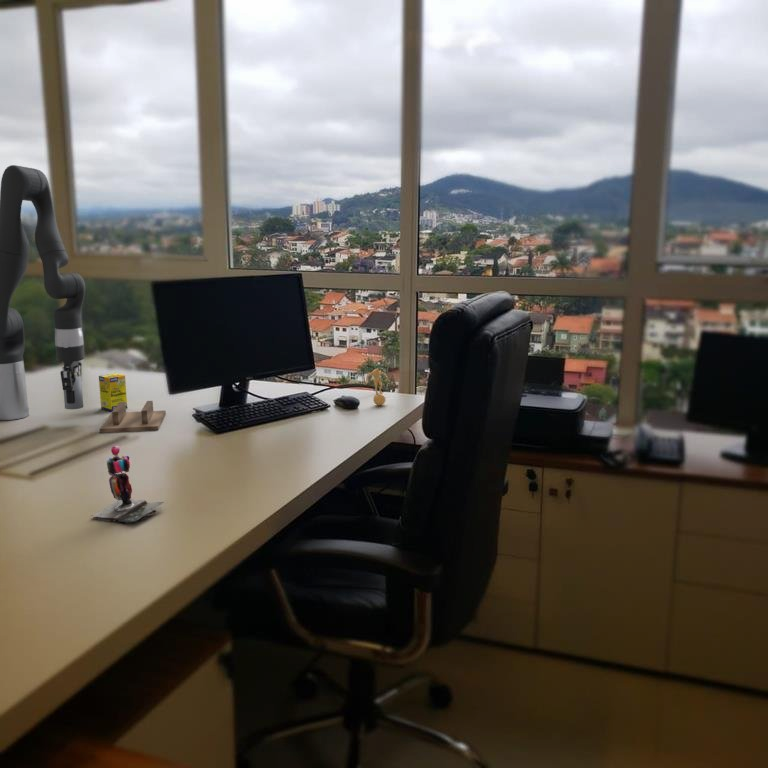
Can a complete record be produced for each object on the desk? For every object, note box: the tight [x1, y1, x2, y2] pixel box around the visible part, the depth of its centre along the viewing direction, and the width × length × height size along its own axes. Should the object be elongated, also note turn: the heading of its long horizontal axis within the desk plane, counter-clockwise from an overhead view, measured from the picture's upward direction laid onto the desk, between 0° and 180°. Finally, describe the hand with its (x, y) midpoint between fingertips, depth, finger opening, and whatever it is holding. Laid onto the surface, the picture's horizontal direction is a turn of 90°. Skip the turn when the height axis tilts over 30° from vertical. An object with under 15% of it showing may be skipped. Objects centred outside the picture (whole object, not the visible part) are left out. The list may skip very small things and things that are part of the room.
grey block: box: [63, 375, 84, 410], centre depth 214 cm, size 5×5×9 cm
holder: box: [99, 400, 167, 434], centre depth 218 cm, size 16×18×5 cm
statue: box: [90, 445, 165, 525], centre depth 149 cm, size 11×9×15 cm
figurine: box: [365, 367, 391, 406], centre depth 239 cm, size 8×6×12 cm
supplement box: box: [98, 372, 128, 413], centre depth 234 cm, size 6×6×11 cm
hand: (73, 400), depth 215 cm, fingers closed on grey block, 5 cm apart
